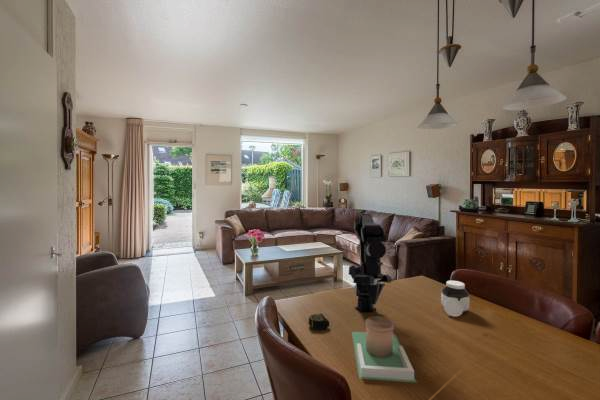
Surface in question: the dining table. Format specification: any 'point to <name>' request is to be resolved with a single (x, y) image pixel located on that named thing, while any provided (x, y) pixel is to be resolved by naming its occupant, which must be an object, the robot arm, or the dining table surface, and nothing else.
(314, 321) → the tape measure
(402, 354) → the white rail holder
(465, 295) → the spread jar
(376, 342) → the terracotta pot
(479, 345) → the dining table surface
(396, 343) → the green mat
